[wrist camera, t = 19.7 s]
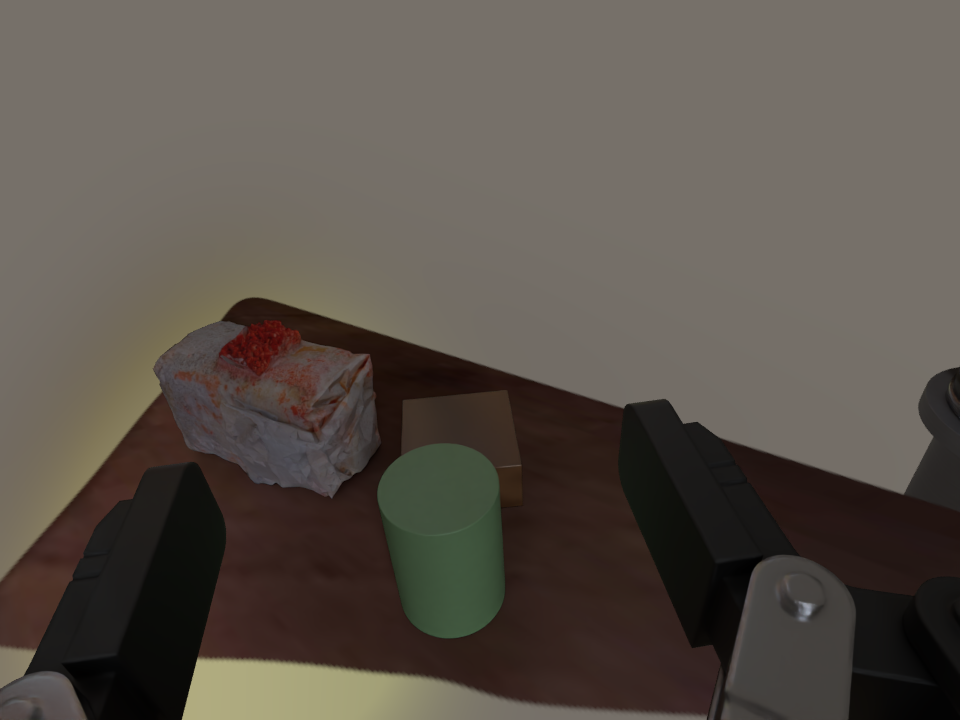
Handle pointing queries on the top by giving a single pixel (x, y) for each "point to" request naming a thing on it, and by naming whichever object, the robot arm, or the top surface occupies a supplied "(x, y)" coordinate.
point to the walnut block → (469, 432)
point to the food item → (273, 403)
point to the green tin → (445, 537)
